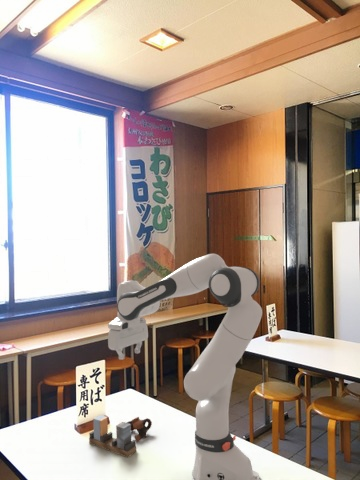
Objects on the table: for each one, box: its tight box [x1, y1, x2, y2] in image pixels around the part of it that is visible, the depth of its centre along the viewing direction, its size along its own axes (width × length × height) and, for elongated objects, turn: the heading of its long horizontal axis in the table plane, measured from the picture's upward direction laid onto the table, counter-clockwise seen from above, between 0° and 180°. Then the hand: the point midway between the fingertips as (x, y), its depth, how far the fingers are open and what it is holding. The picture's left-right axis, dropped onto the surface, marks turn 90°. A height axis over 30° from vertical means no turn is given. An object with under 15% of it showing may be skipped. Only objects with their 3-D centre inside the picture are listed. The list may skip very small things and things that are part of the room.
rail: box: [88, 421, 137, 458], centre depth 155 cm, size 20×5×10 cm, turn 56°
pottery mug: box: [126, 416, 153, 443], centre depth 164 cm, size 12×10×8 cm
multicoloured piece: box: [92, 414, 109, 441], centre depth 158 cm, size 4×4×8 cm
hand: (129, 356), depth 159 cm, fingers open, 8 cm apart
